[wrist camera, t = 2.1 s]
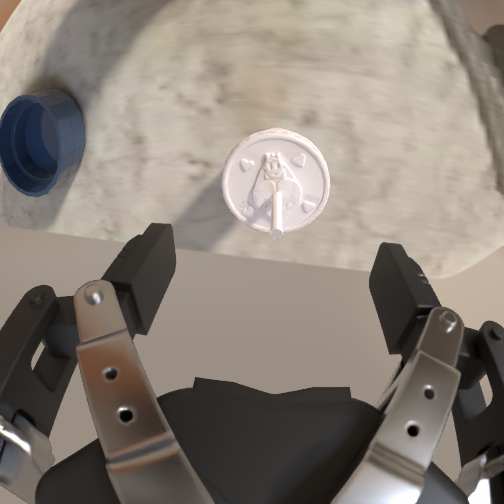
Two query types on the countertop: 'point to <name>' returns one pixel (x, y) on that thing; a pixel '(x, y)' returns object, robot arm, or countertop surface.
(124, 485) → the robot arm
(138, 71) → the countertop surface
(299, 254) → the countertop surface
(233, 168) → the smoothie
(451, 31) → the countertop surface
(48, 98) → the bowl
